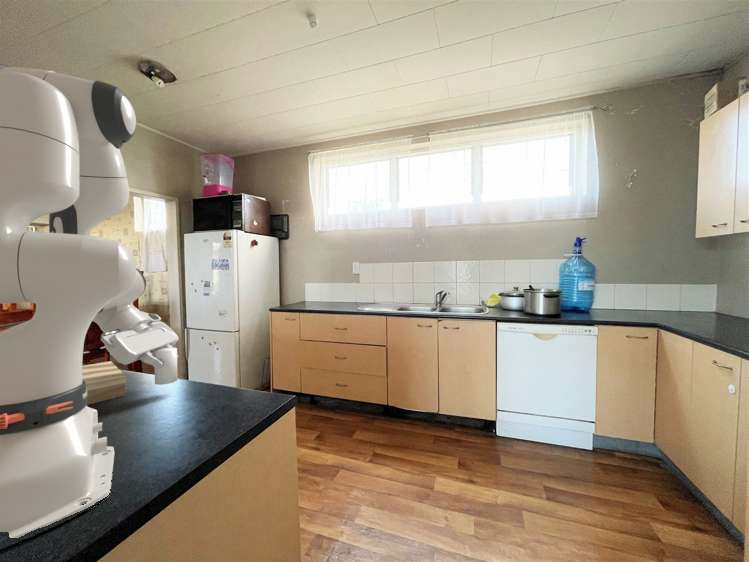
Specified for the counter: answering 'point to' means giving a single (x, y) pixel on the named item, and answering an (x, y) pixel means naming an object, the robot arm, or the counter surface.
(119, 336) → the robot arm
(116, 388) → the wooden board
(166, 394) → the counter surface
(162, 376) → the white rounded block
